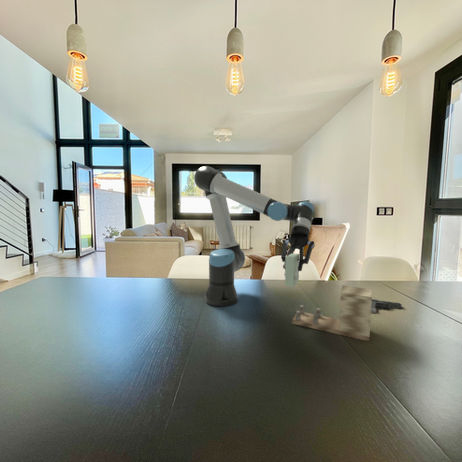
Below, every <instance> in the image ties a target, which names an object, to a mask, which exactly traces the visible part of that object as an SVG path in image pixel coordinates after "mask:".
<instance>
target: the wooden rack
mask: <svg viewBox="0 0 462 462" xmlns="http://www.w3.org/2000/svg"><path fill="white" fill-rule="evenodd" d="M372 299H373V297H372V289H370V288H365V287H364V288H363V287H357V286H351V285H350V286H349V285H342V287H341V291H340V303H339V305H340V306H339V318H338V319H337V318H335V317H334V318H333V317H329V316H323V315H321V308H320V307H317V308H316V310H315V311H316V313H314V314H313V313H309V312H305V305H303V304H301V305H299V306H300V307H299V310H298V309H297V310H296V312H295V315H294V316H293V318H292V319H291V324H292V325H297V326H302V327H306V328H310V329H314V330H318V331H319V330H320V331H323V332H327V333H331V334H336V335H339V336H340V335H341V336H343V337H344V336H345V337H349V338H353V339H357V340H362V341H366V342H370V335H371V333H370V332H371V317H372V312H371V302H372Z"/></svg>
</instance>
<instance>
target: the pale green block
mask: <svg viewBox="0 0 462 462" xmlns="http://www.w3.org/2000/svg"><path fill="white" fill-rule="evenodd" d="M297 261H299V253H293V254H290V255H288V256H287V255H286V257H285V262H284V263H285V265H284V264H283V265H282V268H283V269H284V268H285V269H284V273H285V275H284V286H285V287H291V288H294V287H295V286H296V285H297V284H298V283H299V279H300V275H299V274H300V273H298V278H297V279H295V277H294V274H295V269H296V264H297Z"/></svg>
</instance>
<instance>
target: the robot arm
mask: <svg viewBox="0 0 462 462" xmlns="http://www.w3.org/2000/svg"><path fill="white" fill-rule="evenodd" d="M193 179H194V183H195V185H196V187H197V188H199V189H200V190H202V191H204V195H205V198H206V199H208V200H209V203H210V207H211V211H212V212H211V213H212V217H213V221H214V222H213V223H214V225H215V229H216V231H215V232H216V236H217V239H218V243H219V246H218V247H217V249H215V250H212V251H211V252H210V253H209V258H208V278H209V279H208V287H207V290H206V293H205V295H204V296H205V297H204V298H205V299H204V300H205V303H206V304H207V305H210V306H214V307H229V306H233V305H235V304H237V302H238V300H239V299H238V296H239V295H238V293H237V289H236V287H235V273H236V272H238V271H239V270H241V268H243V266H244V264H245V261H246V255H245V253H244V251H243V250H242V249H241V245H240V243H239V242H238V241H236V236H235V231H234V228H233V223H232V220H231V219H232V218H231V215H230V211H229V205H228V201H227V198H228V199H230V200H232V201H234V202H236V203H238V204H241V205H243V206H245V207H247V208H249V209H251V210H254V211H256V212H257V213H260V214H263V215H264V216H265V217H269V218H270V219H271V220H273V221H275V222H280V221H288V222H289V221H290V222H293V224H292V229H291V231H290V237H288V239H287V240H286V239H282V250H281V257H280V258H281V262H283V263H284V264H283V265H285V257H286V256H288V255H290V254H295V253H294V252H296V249H297V250H298V249H299V252H298V254H299V261H297V264H296V269H295V274H294V277H295V279H297V278H298V273H299V272H302V270H303V266H304V265H308V264H309V261H310V259H311V254H312V251H313V249H314V248H315V241H314V240H312V241H311V240H310V239H309V238H310V232H311V227H312V222H313V217H314V210H315V209H314V208H315V207H314V204H312V203H311V202H309V201H301V202H298V204H296V205H295V204H288V203H283V202H281V201H278V200H275V198H274V199H273V198H272V197H269V196H266V195H264V194H262V193H259V192H258V191H255V190H253V189H251V188H249V187H246V186H244V185H242V184H240V183H237V182H235V181H233V180H230V179H228V177H227V175H226V174H225V173H224V172H222V171H221V170H220V169H217V168H216V169H215V167H214V168H213V167H211V166H209V165H205V166H201V167H199V168H198V169H197V170H196V171H195V174H194V177H193ZM289 245H290V247H289V249H288V246H289ZM306 246H307V249H306V252H305V256H304V250H305V249H304V248H305V247H306ZM283 270H285V268H283ZM299 274H300V273H299ZM284 276H285V272H284Z"/></svg>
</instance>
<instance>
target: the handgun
mask: <svg viewBox="0 0 462 462" xmlns="http://www.w3.org/2000/svg"><path fill="white" fill-rule="evenodd" d="M397 308H398V309H399V310H402V308H403V306H402V303H400V302H394V301H385V300H378V299H375V298H372V302H371V314H373V313H374V314H376V313H377V309H379V310H385V309H388V311H389V310H390V309H397Z"/></svg>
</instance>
